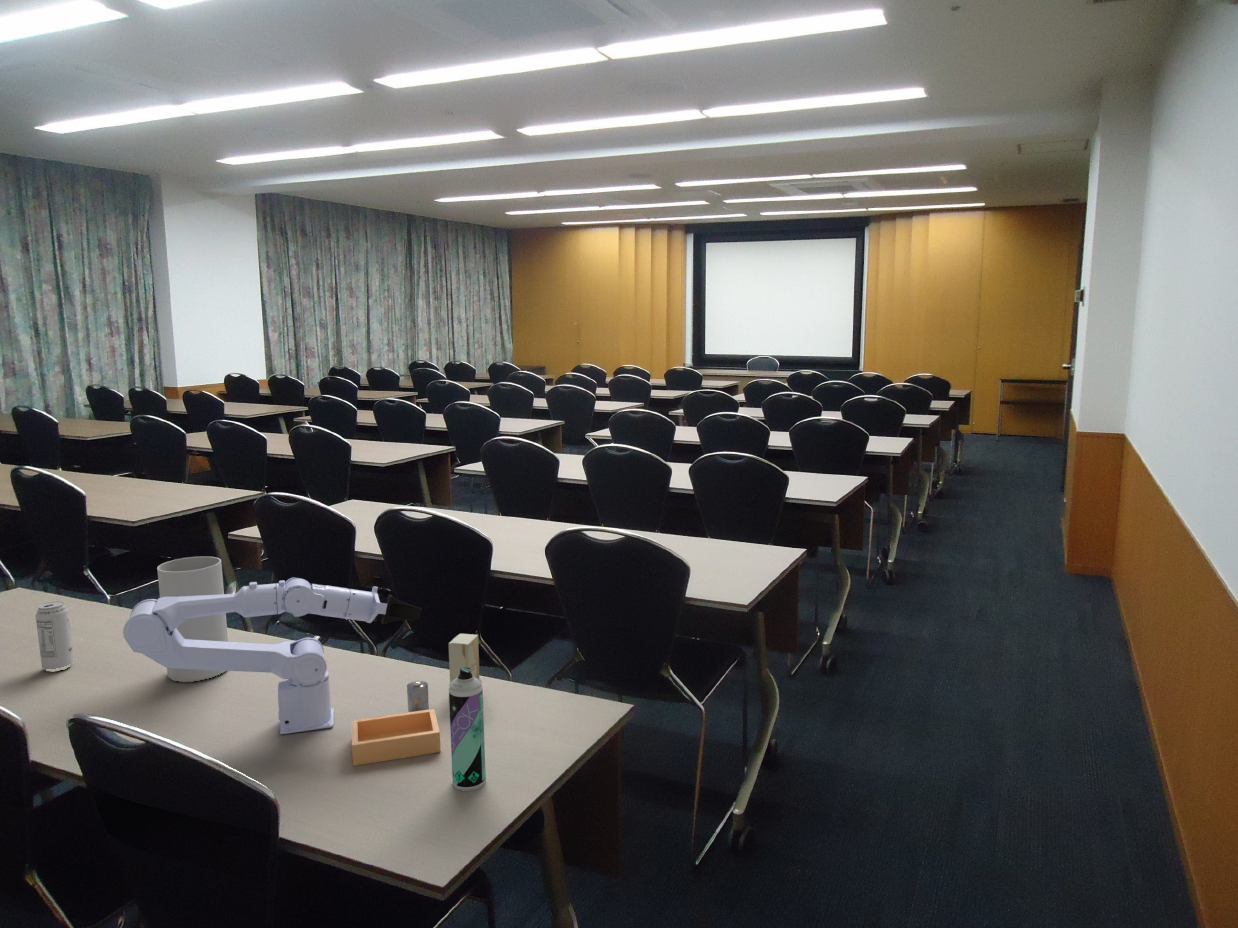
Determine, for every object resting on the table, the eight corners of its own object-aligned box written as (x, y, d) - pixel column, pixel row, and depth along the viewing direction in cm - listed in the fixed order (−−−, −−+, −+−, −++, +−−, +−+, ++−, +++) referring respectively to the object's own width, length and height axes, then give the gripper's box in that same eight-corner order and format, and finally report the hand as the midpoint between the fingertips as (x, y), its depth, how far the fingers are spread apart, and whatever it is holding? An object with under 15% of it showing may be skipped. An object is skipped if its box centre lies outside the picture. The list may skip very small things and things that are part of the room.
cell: (409, 719, 162) (407, 687, 161) (407, 710, 166) (406, 679, 165) (430, 716, 163) (428, 684, 162) (428, 708, 167) (426, 676, 166)
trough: (353, 765, 145) (351, 745, 144) (352, 739, 154) (351, 720, 154) (440, 751, 149) (439, 732, 149) (435, 727, 159) (434, 708, 158)
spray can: (454, 774, 142) (450, 663, 139) (487, 772, 142) (483, 661, 139) (450, 792, 136) (446, 676, 133) (484, 790, 137) (480, 675, 134)
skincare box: (469, 701, 170) (467, 644, 168) (449, 700, 171) (447, 643, 169) (480, 688, 176) (479, 633, 174) (461, 687, 177) (459, 632, 175)
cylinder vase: (234, 674, 184) (225, 565, 180) (171, 688, 177) (160, 575, 173) (225, 657, 194) (216, 553, 191) (164, 669, 188) (154, 562, 184)
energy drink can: (79, 666, 190) (72, 603, 187) (50, 675, 185) (42, 610, 182) (66, 661, 193) (59, 598, 191) (37, 669, 188) (29, 606, 186)
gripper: (356, 582, 155) (428, 593, 161) (345, 582, 168) (411, 592, 174) (349, 620, 154) (421, 630, 159) (338, 617, 167) (405, 626, 172)
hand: (416, 613), depth 166 cm, fingers open, 7 cm apart
